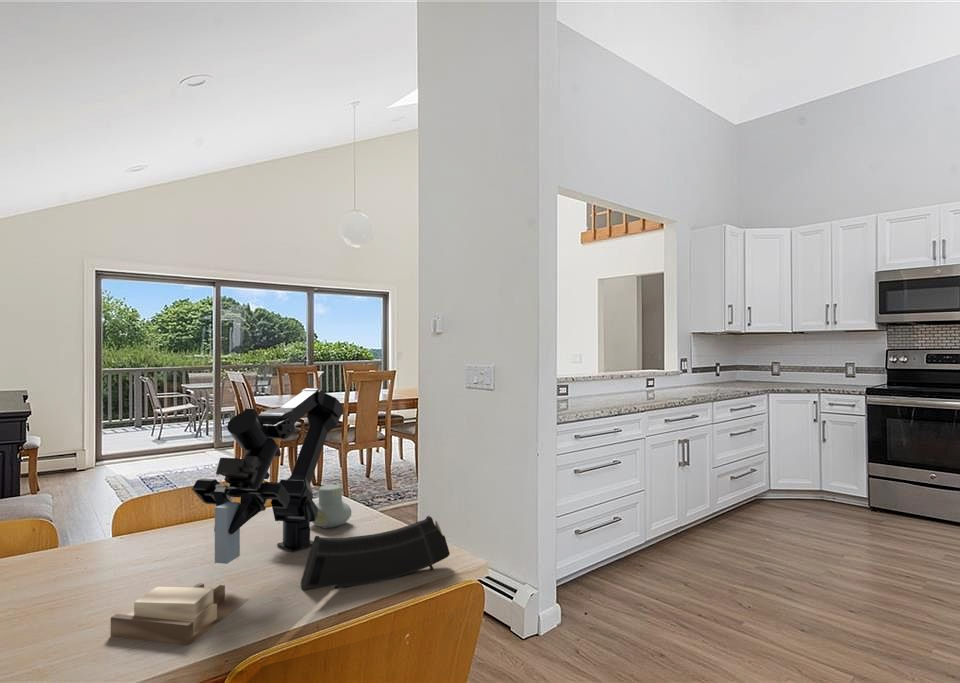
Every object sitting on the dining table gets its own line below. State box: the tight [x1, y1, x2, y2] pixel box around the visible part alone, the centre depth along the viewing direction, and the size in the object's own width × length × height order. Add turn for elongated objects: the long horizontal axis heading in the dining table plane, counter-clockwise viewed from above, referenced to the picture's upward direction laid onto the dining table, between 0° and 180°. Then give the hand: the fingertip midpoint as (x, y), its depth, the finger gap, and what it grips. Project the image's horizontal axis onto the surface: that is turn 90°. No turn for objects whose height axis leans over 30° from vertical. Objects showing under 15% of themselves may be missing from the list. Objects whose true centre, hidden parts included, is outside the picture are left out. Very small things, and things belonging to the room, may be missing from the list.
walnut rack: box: [110, 582, 250, 646], centre depth 99 cm, size 16×14×4 cm
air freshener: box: [311, 484, 352, 529], centre depth 152 cm, size 11×8×10 cm
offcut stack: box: [126, 586, 217, 636], centre depth 96 cm, size 7×12×5 cm, turn 79°
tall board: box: [214, 501, 241, 565], centre depth 110 cm, size 4×3×10 cm, turn 169°
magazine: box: [300, 515, 451, 590], centre depth 117 cm, size 17×3×30 cm
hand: (222, 533), depth 109 cm, fingers closed on tall board, 3 cm apart
